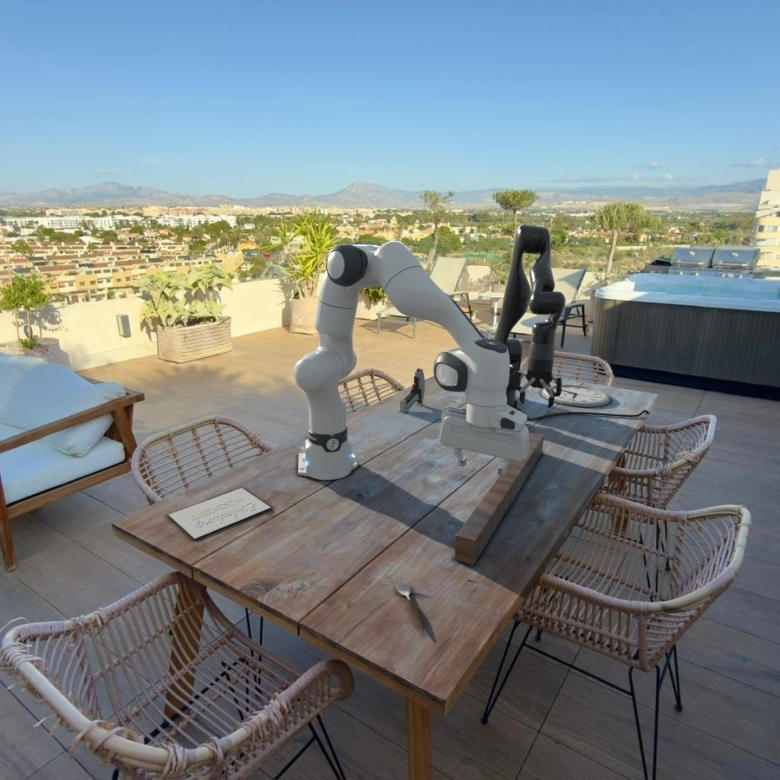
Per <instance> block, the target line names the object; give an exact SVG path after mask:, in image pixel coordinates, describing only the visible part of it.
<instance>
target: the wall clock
mask: <svg viewBox="0 0 780 780" xmlns="http://www.w3.org/2000/svg"><path fill="white" fill-rule="evenodd" d="M556 385H557V384H555V385H551V386H552V389H553V390H554V392H556ZM541 395H542V396H543V398H545V399H547V400H548V401H549V397H550V395H549V394H548V392H547V391H546V390H545V388H543V389H541ZM610 402H611V398H610V396H609V395H608V394H606V393H605V392H603V391H602V390H598V389H595V388H593V387H588V386H585V385H584V386H583V385H576V384H562V392H561V395H560V396H559V397H557V396H556V397H555V398H554V403H557V404H560V405H567V406H571V407H578V408H579V407H580V408H594V407H595V408H596V407H602V406H606V405H608V404H609V403H610Z"/></svg>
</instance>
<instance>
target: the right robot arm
mask: <svg viewBox="0 0 780 780" xmlns="http://www.w3.org/2000/svg"><path fill="white" fill-rule="evenodd" d="M515 232H516V233H515V235H514V241H513V246H512V253H511V260H510V261H511V262H510V267H509V271H508V277H507V281H506V284H505V290H504V294H503V299H502V304H501V310H500V314H499V318H498V321H497V326H496V329H495V332H494V335H493V337H492V339H494V340H497V341H500V342H501V343H503V344H504V345H505V346H506V347H507V349H508V352H509V358H510V373H509V384H508V386H507V389H506V397H507V405H509V406H511V407H513V408H515V409H517V410H519V411H521V412H523V413H525V414H526V415H527V421H537V420H541V419H544V418H550V417H554V416H561V415H593V416H606V417H607V416H608V417H621V418H622V417H623V418H637V417H640V416H642V415H643V414H644V413H645V414H650V412H649V411H648V410H647V409H643V410H641V411H640V413H638V414H621V413H605V412H590V411H563V412H555V413H551V414H546V415H540V416H537V417H533V418H530V417H528V416H529V415H528V414H527V412H525V411H524V410H523V409H522V408H521V407H520V406H518V401H519V402H520V404H521V405H524V404H525V402H526V394H527V393H526V390H527V389H528V388H529V387H532V388H538V389H540V390H543V389H545V390H546V391H547V392H548V394H549V395H550V397H549V400H548V403H547V409H551V408H553V406H554V405H555V402H554V398H555V397H556V396H557V397H559V396H560V395H561V392H562V385H563V376H561V375H559V376H553V367H554V361H555V360H554V359H555V355H556V354H555V351H556V350H555V349H556V347H555V345H556V344H555V343H556V334H557V328H558V325H559V322H560V320H561V317H562V315H563V312H564V310H565V307H566V304H567V303H566V296H565V294H564V293H563V292H561V291H557V290H556V291H554V290H555V288H556V283H555V277H554V273H553V270H552V269H553V268H552V248H551V247H552V245H551V244H552V242H551V234H550V231H549V228H547V227H545V226H539V225H531V224H530V225H529V224H521V225H519V226H518V227H517V229H516V231H515ZM524 254H525V255H526V254H527V255H539V256H538V258H536V260H535V261H534V263H532V265H531V267H530V269H529V273H528V274H529V275H528V276H529V279H528V277H527V275H526V271H525V269H524V265H523V264H524V263H523V258H524ZM528 309H529V312H530V313H532V314H533V315H537V316H538V315H539V316H540V315H541V316H549V317H548V318H547V319H545V320H542V321H537V322H535V323H533V325H532V328H531V337H530V345H529V350H528V351H529V352H528V361H527V370H526V372H525V371H522V370H521V365H522V360H523V359H522V358H523V344H522V342H521V341H520V340H519V339H518V338H510V334H511V332H512V330H513V329H514V328H515V326H516V325H517V324H519V323H518V322H520V320H521V319H522V318H523V317H524V315H526V313H527V311H528ZM524 377H525V379H526V380H527V383H525V384H524V385H523V386H521V384H522V379H524ZM552 381H553V382H554V384H555V385H556V392H554V390H553V389H552V386H553V385H551V382H552ZM517 391H518V392H519V398H518V399H517Z"/></svg>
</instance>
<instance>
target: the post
mask: <svg viewBox="0 0 780 780" xmlns="http://www.w3.org/2000/svg"><path fill="white" fill-rule="evenodd" d="M529 435H530V451H529V455H528V457H527V459H526V460H524V461H523V462H519V461H514V460H512V461H511V462H510V464H509V465H508V466H507V467H506V474H505V475H504V476H502V475H498V477H497V478H496V479H495V481H494V482H493V483H492V486H491V487H490V488H489V489H488V491H487V492H486V493H485V495H484V496H483V497H482V499H481V500H480V502H479V503H478V504H477V506H476V507H475V509H474V510H473V511H472V512H471V514H470V515H469V517H468V518H467V520H466V521H465V523H463V525H462V527H461V528H460V529H459V531H458V532H457V533H456V534H455V545H454V546H455V548H454V560H455V561H458V562H461V563H463V564H467V565H470V566H474V565H475V563H476V562H477V561H478V559H479V557H480V555H481V554H482V552H483V550H484V549H485V547H486V546H487V544H488V542H489V541H490V539H491V538H492V537H493V534H494V533H495V531H496V529H497V527H498V526H499V524H500V523H501V521H502V519H503V518H504V517H505V514H506V512H508V509H509V508H510V506H511V505H512V503H513V501H514V499H515V498H516V496H517V495H518V493H519V491H520V490H521V488H522V487H523V485H524V483H525V481H526V480H527V478H528V477H529V475H530V473H531V471H532V470H533V469H534V466H535V465H536V464H537V462H538V460H539V458H540V457H541V455H542V453H543V450H544V449H543V447H544V440H545V439H544V438H545V435H544V434H540V433H534V432H529Z"/></svg>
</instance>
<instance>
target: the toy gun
mask: <svg viewBox="0 0 780 780" xmlns="http://www.w3.org/2000/svg"><path fill="white" fill-rule="evenodd" d="M425 383H426V380H425V374H424V369H423V368H420V367H417V368H416V370H415V371H414V375H413V384H412V385H411V389H410V392H409V393H408V394H407V395H406V397H405V398H403V399H401V400H400V401H399V410H400V412H403V413H407V412H408V411H409V410H411V409H412V407H414V405H415V404H416V403H417V404H418V405H423V403H424V400H425V399H424V398H425V390H426V384H425Z"/></svg>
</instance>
